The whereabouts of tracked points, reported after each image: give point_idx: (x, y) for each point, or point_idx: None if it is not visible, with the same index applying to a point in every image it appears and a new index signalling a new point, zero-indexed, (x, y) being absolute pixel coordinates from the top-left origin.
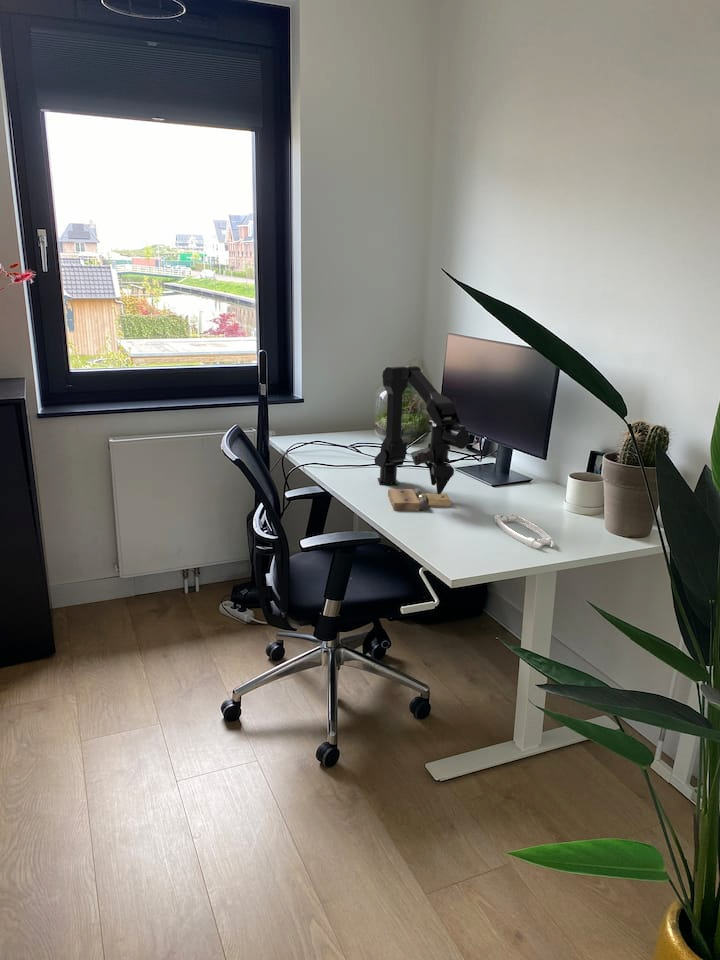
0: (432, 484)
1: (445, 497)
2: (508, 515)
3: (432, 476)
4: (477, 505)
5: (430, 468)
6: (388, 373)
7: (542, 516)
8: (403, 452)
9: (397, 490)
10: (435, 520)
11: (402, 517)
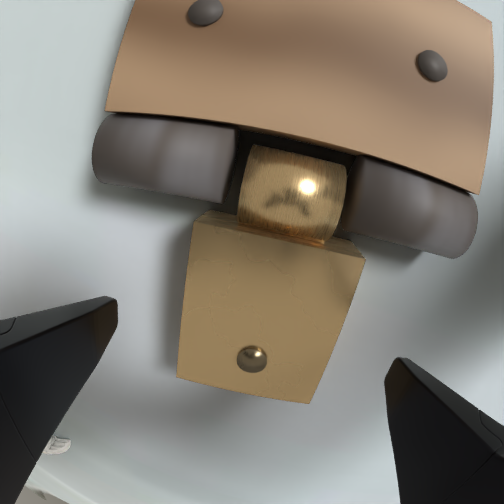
0: (396, 364)
1: (230, 369)
2: (62, 447)
3: (431, 419)
4: (201, 451)
5: (495, 472)
6: None
7: (109, 496)
8: None
9: (463, 55)
10: (6, 173)
11: (65, 11)
